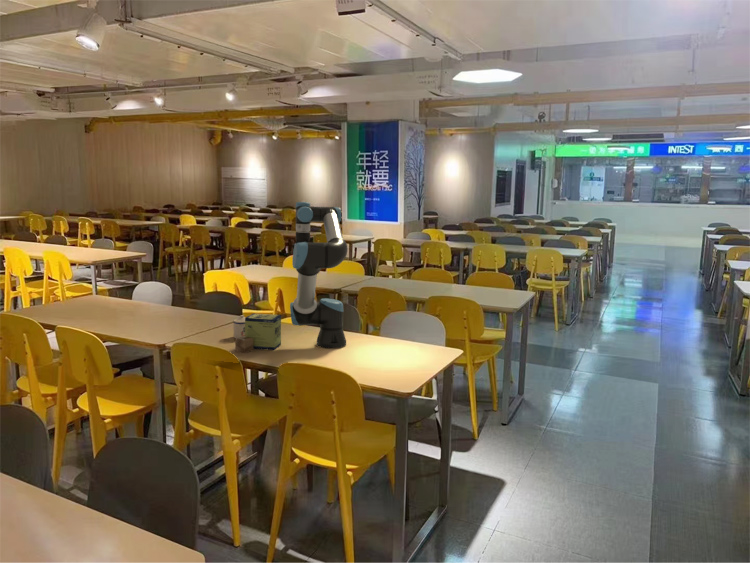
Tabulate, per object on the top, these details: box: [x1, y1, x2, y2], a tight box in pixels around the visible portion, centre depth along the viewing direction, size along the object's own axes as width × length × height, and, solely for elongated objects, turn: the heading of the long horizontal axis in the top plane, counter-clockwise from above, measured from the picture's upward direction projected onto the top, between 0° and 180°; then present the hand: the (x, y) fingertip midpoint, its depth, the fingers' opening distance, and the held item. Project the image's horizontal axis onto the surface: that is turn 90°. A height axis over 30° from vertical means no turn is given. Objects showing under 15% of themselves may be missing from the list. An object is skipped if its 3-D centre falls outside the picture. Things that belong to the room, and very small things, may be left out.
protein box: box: [245, 313, 282, 351], centre depth 283 cm, size 10×16×16 cm
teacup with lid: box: [232, 314, 246, 339], centre depth 301 cm, size 12×9×12 cm
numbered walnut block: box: [234, 337, 254, 354], centre depth 276 cm, size 6×6×6 cm
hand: (302, 276), depth 300 cm, fingers closed
